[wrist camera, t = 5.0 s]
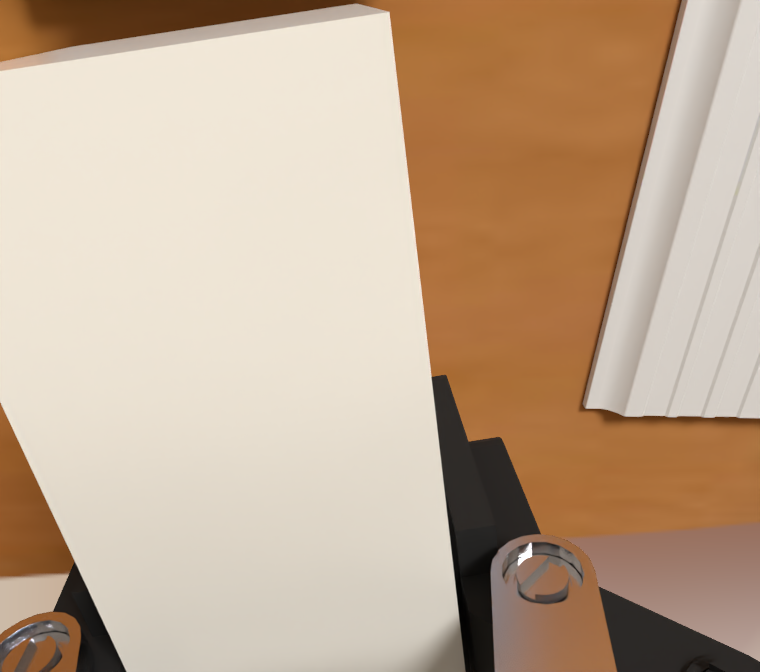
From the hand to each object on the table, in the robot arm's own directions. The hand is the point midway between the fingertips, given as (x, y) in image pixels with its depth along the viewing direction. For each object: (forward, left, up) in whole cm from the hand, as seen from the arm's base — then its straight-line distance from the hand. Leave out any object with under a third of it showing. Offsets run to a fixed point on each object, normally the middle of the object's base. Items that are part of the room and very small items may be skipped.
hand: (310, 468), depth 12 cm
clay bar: (0, 0, 0) cm, 0 cm away
